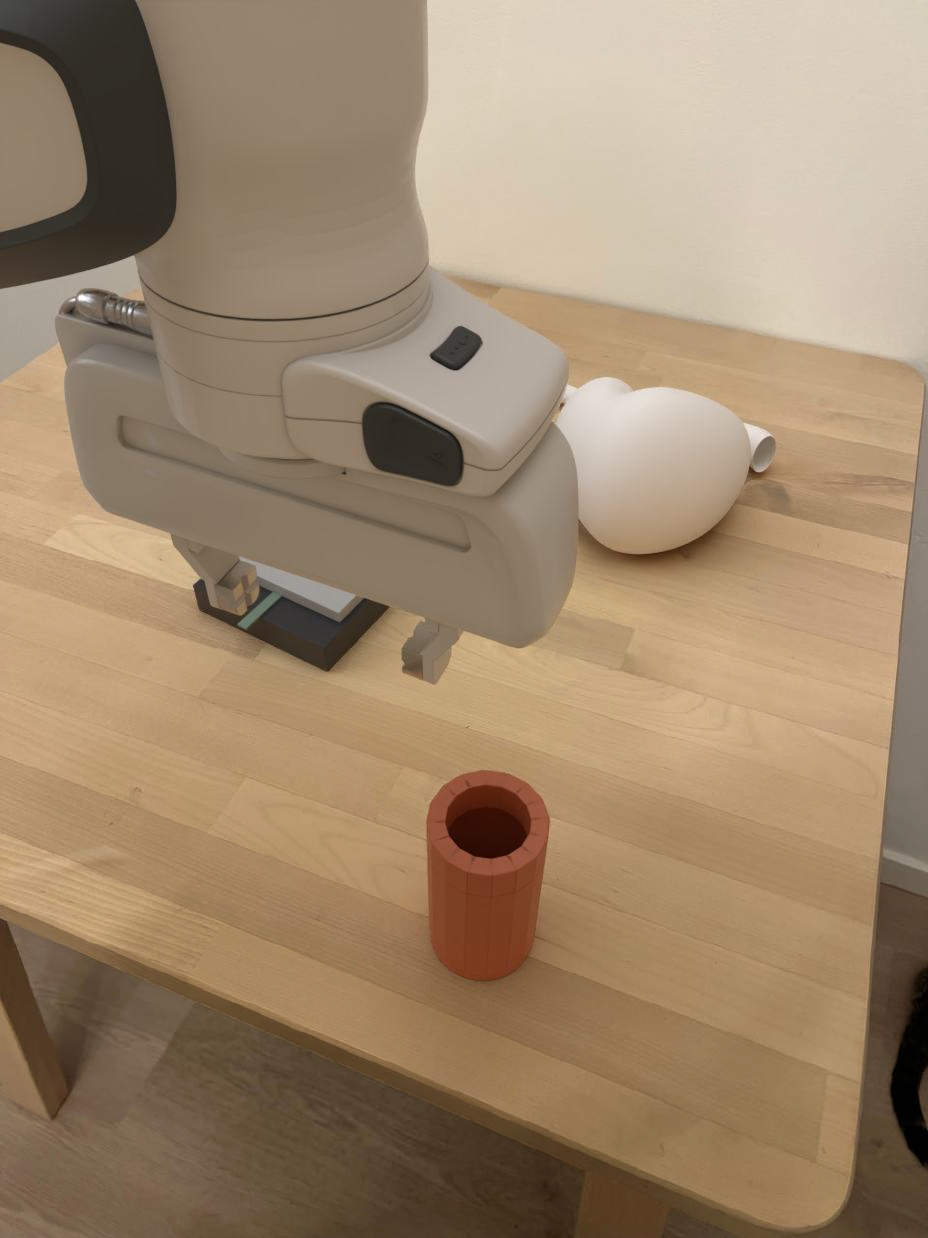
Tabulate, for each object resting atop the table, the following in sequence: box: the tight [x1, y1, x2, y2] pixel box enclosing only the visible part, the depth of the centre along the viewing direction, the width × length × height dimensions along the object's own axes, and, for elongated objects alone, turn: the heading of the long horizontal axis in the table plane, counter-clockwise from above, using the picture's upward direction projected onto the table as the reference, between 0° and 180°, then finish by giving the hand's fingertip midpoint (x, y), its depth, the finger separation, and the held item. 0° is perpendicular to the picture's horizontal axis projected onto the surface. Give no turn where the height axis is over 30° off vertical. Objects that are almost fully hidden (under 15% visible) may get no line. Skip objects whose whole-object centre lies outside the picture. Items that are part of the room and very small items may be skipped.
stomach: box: [554, 376, 777, 555], centre depth 80 cm, size 23×13×24 cm
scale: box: [192, 556, 391, 672], centre depth 70 cm, size 12×16×4 cm
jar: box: [425, 769, 551, 982], centre depth 48 cm, size 6×6×11 cm
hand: (328, 635), depth 40 cm, fingers open, 8 cm apart
